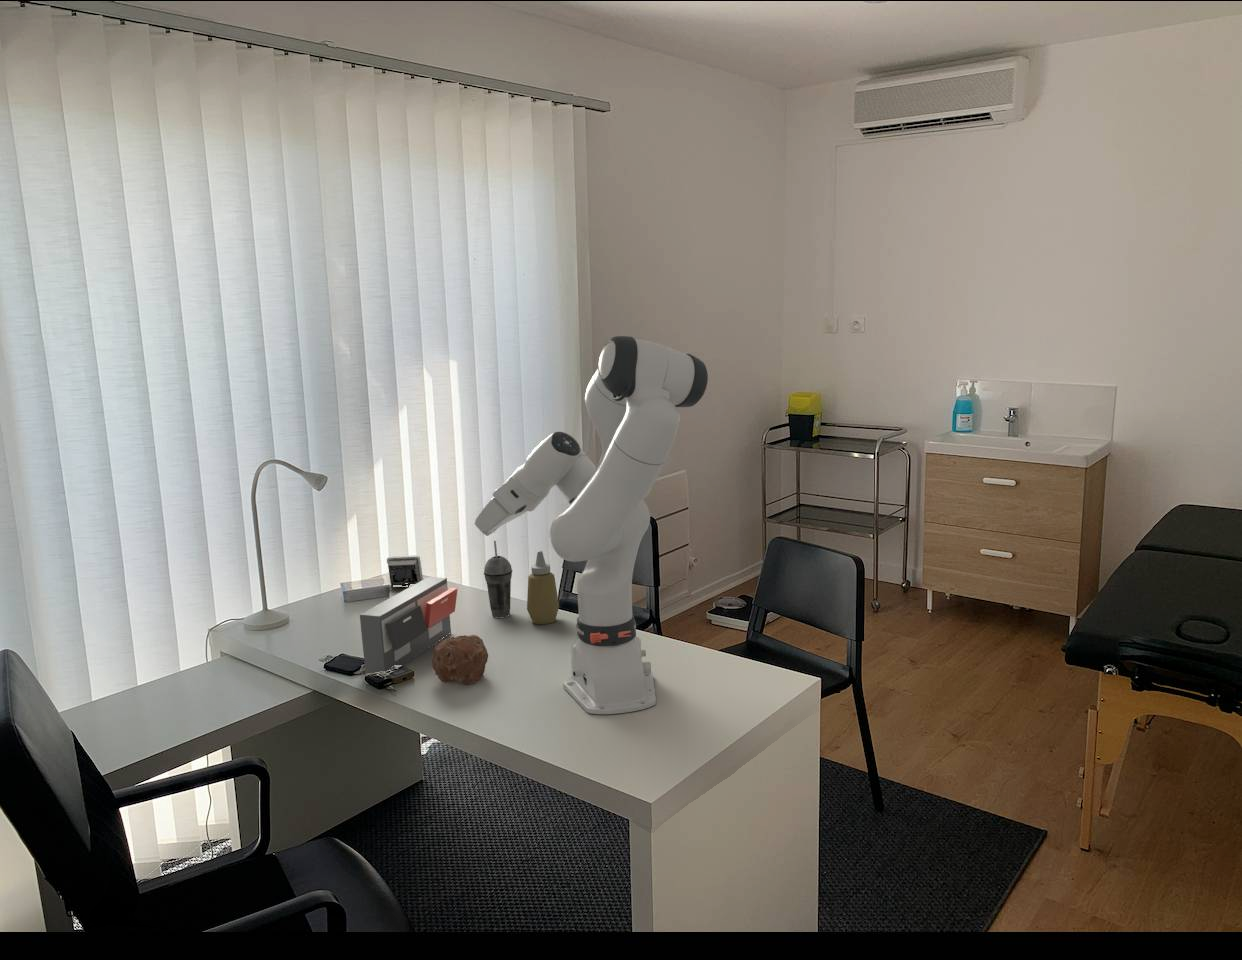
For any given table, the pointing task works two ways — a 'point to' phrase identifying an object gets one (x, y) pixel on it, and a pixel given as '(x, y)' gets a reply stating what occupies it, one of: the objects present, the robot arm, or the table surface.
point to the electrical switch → (404, 570)
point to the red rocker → (440, 607)
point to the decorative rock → (460, 659)
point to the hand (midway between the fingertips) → (487, 532)
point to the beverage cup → (498, 584)
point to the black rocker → (406, 627)
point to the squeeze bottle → (542, 593)
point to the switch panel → (375, 619)
